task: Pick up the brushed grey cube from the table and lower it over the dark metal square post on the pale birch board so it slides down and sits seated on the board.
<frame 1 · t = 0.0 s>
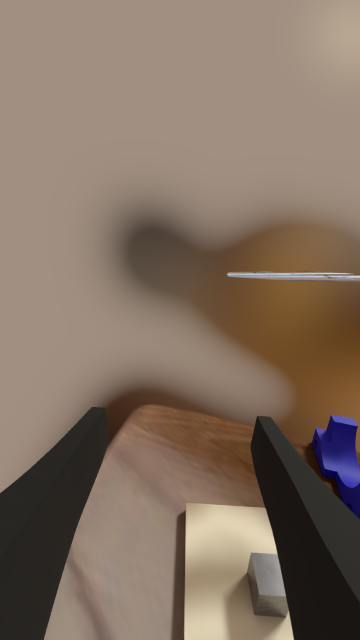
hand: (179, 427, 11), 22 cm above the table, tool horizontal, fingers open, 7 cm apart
board: (263, 601, 21), on the table
post: (267, 583, 20), on the board, point 3 cm above the table
cable clip: (340, 482, 32), on the table
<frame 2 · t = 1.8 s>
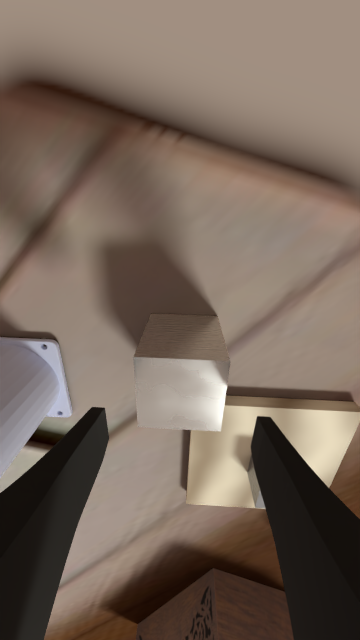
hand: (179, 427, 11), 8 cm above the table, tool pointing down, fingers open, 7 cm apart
board: (259, 452, 23), on the table
tissue box cover: (208, 606, 39), on the table
post: (267, 480, 21), on the board, point 3 cm above the table
brushed grey cube: (183, 343, 18), on the table
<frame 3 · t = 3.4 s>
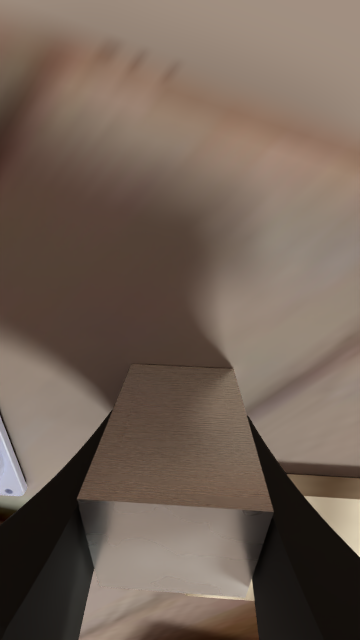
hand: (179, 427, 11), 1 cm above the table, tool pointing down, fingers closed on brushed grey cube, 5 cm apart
board: (285, 536, 17), on the table
brushed grey cube: (180, 405, 12), on the table, touching gripper
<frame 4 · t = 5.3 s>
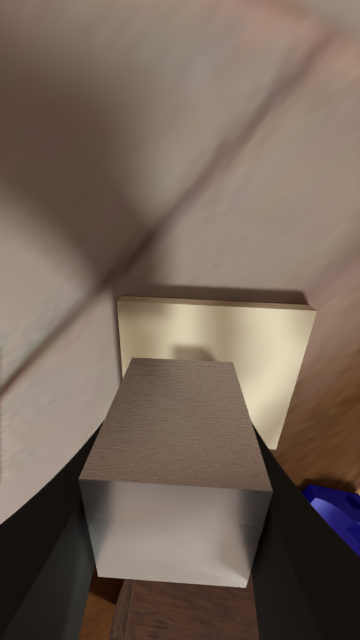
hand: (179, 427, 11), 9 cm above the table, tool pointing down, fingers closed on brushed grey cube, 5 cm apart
board: (206, 376, 20), on the table
tissue box cover: (172, 575, 37), on the table
brushed grey cube: (180, 399, 12), point 7 cm above the table, touching gripper
cable clip: (298, 492, 27), on the table
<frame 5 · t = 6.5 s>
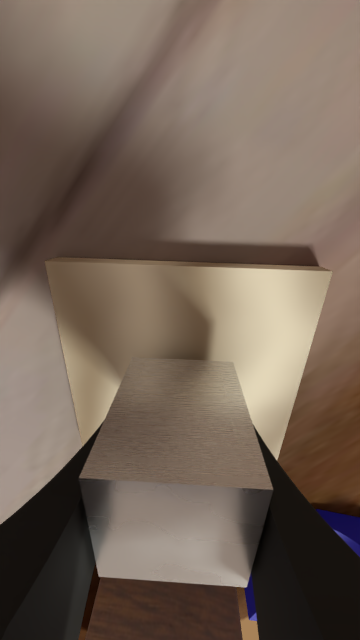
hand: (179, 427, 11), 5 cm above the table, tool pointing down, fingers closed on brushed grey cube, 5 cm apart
board: (182, 370, 15), on the table
tissue box cover: (158, 604, 32), on the table
brushed grey cube: (180, 399, 12), point 3 cm above the table, touching gripper
cable clip: (303, 517, 22), on the table
when the fingers open (4 cm above the table, at t = 7.7 s): brushed grey cube stays where it is, resting on board.
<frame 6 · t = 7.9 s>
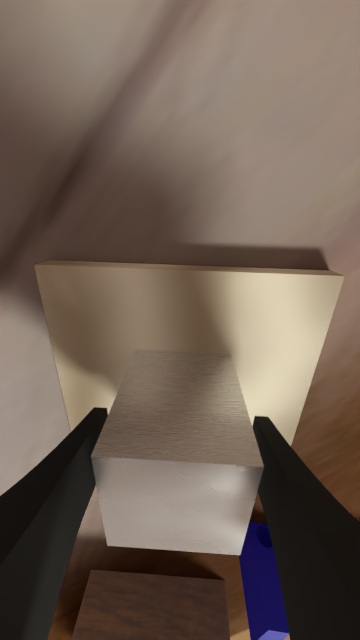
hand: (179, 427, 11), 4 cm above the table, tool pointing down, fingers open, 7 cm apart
board: (182, 379, 14), on the table
tissue box cover: (157, 615, 31), on the table
brushed grey cube: (181, 389, 13), point 1 cm above the table, touching board
cable clip: (306, 533, 21), on the table
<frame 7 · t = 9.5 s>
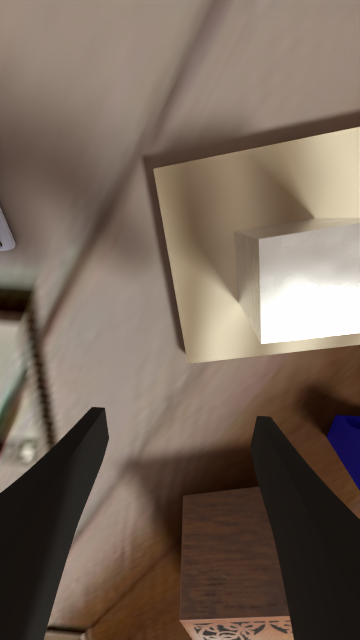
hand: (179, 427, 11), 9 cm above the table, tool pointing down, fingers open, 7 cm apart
board: (268, 264, 17), on the table
tissue box cover: (256, 540, 33), on the table
brushed grey cube: (273, 263, 16), point 1 cm above the table, touching board
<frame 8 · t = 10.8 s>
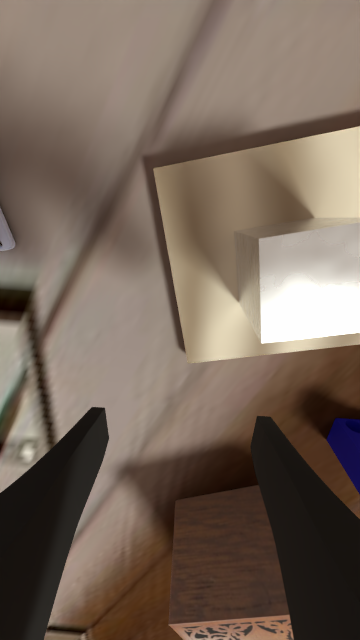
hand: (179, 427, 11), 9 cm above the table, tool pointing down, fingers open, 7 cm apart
board: (268, 263, 17), on the table
tissue box cover: (256, 540, 33), on the table
brushed grey cube: (273, 263, 16), point 1 cm above the table, touching board
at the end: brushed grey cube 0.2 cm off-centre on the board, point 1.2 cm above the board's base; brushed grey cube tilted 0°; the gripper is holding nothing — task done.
